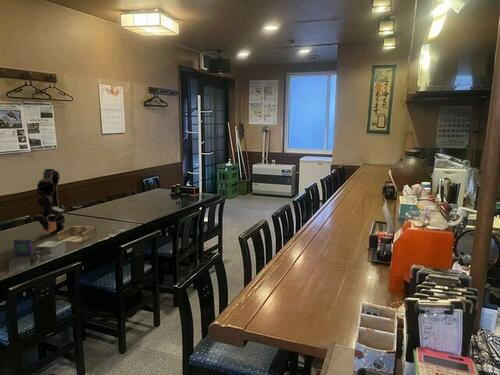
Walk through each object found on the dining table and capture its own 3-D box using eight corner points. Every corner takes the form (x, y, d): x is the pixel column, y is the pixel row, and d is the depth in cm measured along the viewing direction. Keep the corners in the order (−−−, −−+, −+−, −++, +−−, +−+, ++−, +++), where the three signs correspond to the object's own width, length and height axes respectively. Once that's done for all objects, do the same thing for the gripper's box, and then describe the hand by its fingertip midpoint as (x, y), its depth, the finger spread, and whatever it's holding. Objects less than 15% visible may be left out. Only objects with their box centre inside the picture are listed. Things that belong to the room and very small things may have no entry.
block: (42, 231, 203) (42, 223, 202) (48, 229, 208) (47, 220, 207) (51, 232, 202) (50, 223, 202) (56, 229, 207) (55, 221, 206)
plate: (36, 248, 202) (36, 246, 202) (47, 242, 212) (47, 240, 212) (53, 248, 201) (53, 247, 201) (63, 243, 211) (63, 241, 211)
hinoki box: (57, 242, 212) (57, 232, 211) (72, 235, 226) (71, 226, 225) (83, 243, 211) (83, 233, 210) (96, 235, 225) (95, 226, 224)
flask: (34, 254, 192) (32, 235, 190) (31, 256, 189) (29, 236, 188) (16, 254, 191) (14, 235, 190) (13, 256, 189) (11, 237, 187)
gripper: (50, 206, 192) (53, 234, 195) (70, 199, 211) (72, 225, 214) (30, 206, 193) (33, 233, 196) (52, 199, 212) (54, 224, 214)
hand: (49, 229), depth 205 cm, fingers closed on block, 5 cm apart
